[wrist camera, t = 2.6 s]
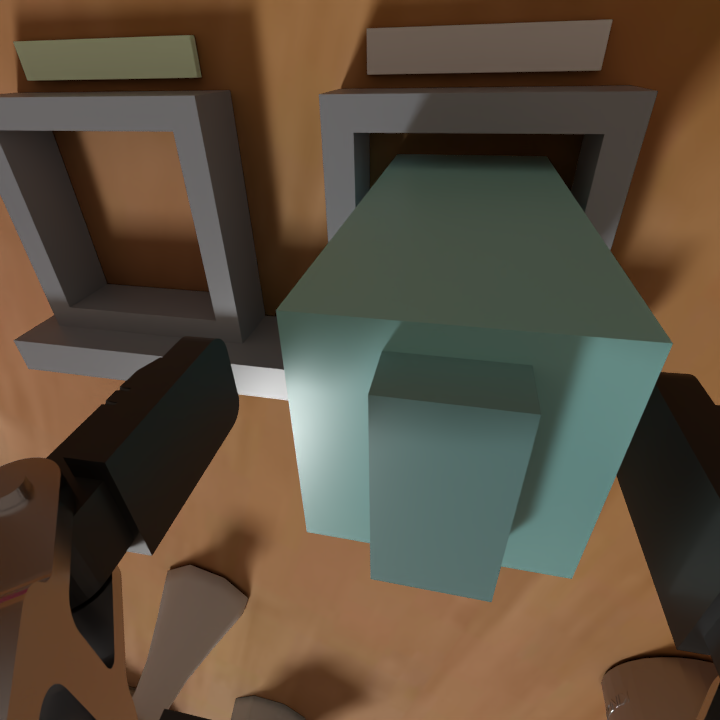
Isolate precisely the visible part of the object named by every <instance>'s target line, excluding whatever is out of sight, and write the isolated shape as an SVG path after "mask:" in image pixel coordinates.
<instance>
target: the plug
mask: <svg viewBox="0 0 720 720" xmlns="http://www.w3.org/2000/svg"><path fill="white" fill-rule="evenodd" d="M276 315H277V322H278V329H279V337H280V344H281V351H282V358H283V365H284V372H285V379H286V386H287V393H288V401H289V408H290V415H291V422H292V429H293V436H294V443H295V450H296V457H297V464H298V472H299V479H300V486H301V493H302V500H303V507H304V514H305V521H306V528H307V532H310V533H316V534H322V535H327V536H333V537H338V538H344V539H350V540H355V541H361V542H367V543H370V567H371V579H374V580H379V581H384V582H389V583H394V584H400V585H405V586H410V587H415V588H421V589H426V590H431V591H436V592H441V593H447V594H452V595H457V596H462V597H467V598H473V599H478V600H483V601H488V602H492V598H493V594H494V591H495V587H496V583H497V579H498V576H499V572H500V568H501V566H502V567H508V568H514V569H519V570H525V571H531V572H536V573H542V574H547V575H553V576H559V577H564V578H570V579H572V577H573V575H574V572H575V570H576V568H577V565H578V563H579V561H580V558H581V556H582V554H583V551H584V549H585V547H586V545H587V542H588V540H589V538H590V535H591V533H592V531H593V528H594V526H595V524H596V521H597V519H598V517H599V514H600V512H601V510H602V507H603V505H604V503H605V500H606V498H607V496H608V493H609V491H610V489H611V486H612V484H613V482H614V479H615V477H616V475H617V472H618V470H619V468H620V465H621V463H622V461H623V458H624V456H625V454H626V451H627V449H628V447H629V444H630V442H631V440H632V437H633V435H634V433H635V430H636V428H637V426H638V423H639V421H640V419H641V416H642V414H643V412H644V409H645V407H646V405H647V402H648V400H649V398H650V395H651V393H652V391H653V388H654V386H655V384H656V381H657V379H658V377H659V374H660V372H661V370H662V367H663V365H664V363H665V360H666V358H667V356H668V353H669V351H670V349H671V347H672V344H673V343H672V342H671V340H670V339H669V337H668V336H667V334H666V333H665V331H664V330H663V328H662V327H661V325H660V324H659V322H658V321H657V319H656V318H655V316H654V315H653V313H652V312H651V310H650V309H649V308H648V306H647V305H646V303H645V302H644V300H643V299H642V297H641V296H640V294H639V293H638V291H637V290H636V288H635V287H634V285H633V284H632V282H631V281H630V279H629V278H628V276H627V275H626V273H625V272H624V270H623V269H622V267H621V266H620V264H619V263H618V261H617V260H616V259H615V257H614V256H613V254H612V253H611V251H610V250H609V248H608V247H607V245H606V244H605V242H604V241H603V239H602V238H601V236H600V235H599V233H598V232H597V230H596V229H595V227H594V226H593V224H592V223H591V221H590V220H589V218H588V217H587V215H586V214H585V213H584V211H583V210H582V208H581V207H580V205H579V204H578V202H577V201H576V199H575V198H574V196H573V195H572V193H571V192H570V190H569V189H568V187H567V186H566V184H565V183H564V181H563V180H562V178H561V177H560V175H559V174H558V172H557V171H556V169H555V168H554V166H553V165H552V164H551V162H550V161H549V159H548V158H547V156H503V155H436V154H397V155H396V157H395V158H394V159H393V160H392V162H391V163H390V164H389V166H388V167H387V168H386V169H385V171H384V172H383V173H382V175H381V176H380V177H379V178H378V180H377V181H376V182H375V184H374V185H373V186H372V187H371V189H370V190H369V191H368V193H367V194H366V195H365V196H364V198H363V199H362V200H361V202H360V203H359V204H358V205H357V207H356V208H355V209H354V211H353V212H352V213H351V214H350V216H349V217H348V218H347V220H346V221H345V222H344V223H343V225H342V226H341V227H340V229H339V230H338V231H337V232H336V234H335V235H334V236H333V238H332V239H331V240H330V241H329V243H328V244H327V245H326V247H325V248H324V249H323V250H322V252H321V253H320V254H319V256H318V257H317V258H316V259H315V261H314V262H313V263H312V265H311V266H310V267H309V268H308V270H307V271H306V272H305V274H304V275H303V276H302V277H301V279H300V280H299V281H298V282H297V284H296V285H295V286H294V288H293V289H292V290H291V291H290V293H289V294H288V295H287V297H286V298H285V299H284V300H283V302H282V303H281V304H280V306H279V307H278V308H277V309H276Z"/></svg>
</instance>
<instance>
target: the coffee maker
mask: <svg viewBox="0 0 720 720" xmlns="http://www.w3.org/2000/svg"><path fill="white" fill-rule="evenodd" d="M231 720H305V718H304V717H302V716H301V715H299V714H298V713H296V712H295V711H293V710H292V709H290V708H289V707H287V706H286V705H284V704H282V703H278V702H274V701H271V700H267V699H264V698H260V697H257V696H249V697H242V698H236V700H235V704H234V708H233V713H232V717H231Z"/></svg>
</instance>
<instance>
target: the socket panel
mask: <svg viewBox="0 0 720 720" xmlns="http://www.w3.org/2000/svg"><path fill="white" fill-rule="evenodd" d="M612 20H613V19H610V20H583V21H556V22H529V23H502V24H475V25H448V26H421V27H394V28H367V75H374V74H430V73H486V72H543V71H599V70H601V68H602V64H603V59H604V55H605V51H606V46H607V42H608V38H609V33H610V29H611V25H612ZM13 43H14V45H15V48H16V51H17V54H18V56H19V59H20V62H21V64H22V67H23V70H24V73H25V75H26V78H27V81H37V80H93V79H149V78H199V77H202V76H201V71H200V65H199V60H198V54H197V49H196V43H195V38H194V35H178V36H151V37H124V38H97V39H70V40H42V41H15V42H13ZM657 92H658V91H655V90H651V89H646V88H641V87H636V86H632V85H617V86H534V87H451V88H367V89H337V90H334V91H330V92H326V93H322V94H319V102H320V118H321V134H322V150H323V166H324V183H325V199H326V215H327V231H328V243H329V241H330V240H331V239H332V238H333V236H334V235H335V234H336V232H337V231H338V230H339V229H340V227H341V226H342V225H343V223H344V222H345V221H346V220H347V218H348V217H349V216H350V214H351V213H352V212H353V211H354V209H355V208H356V207H357V205H358V204H359V203H360V202H361V200H362V199H363V198H364V196H365V195H366V194H367V193H368V191H369V190H370V136H369V133H495V134H584V136H583V140H582V145H581V149H580V153H579V158H578V162H577V166H576V171H575V175H574V179H573V184H572V188H571V193H572V195H573V196H574V198H575V199H576V201H577V202H578V204H579V205H580V207H581V208H582V210H583V211H584V213H585V214H586V215H587V217H588V218H589V220H590V221H591V223H592V224H593V226H594V227H595V229H596V230H597V232H598V233H599V235H600V236H601V238H602V239H603V241H604V242H605V244H606V245H607V247H608V248H609V250H611V247H612V243H613V240H614V237H615V233H616V230H617V227H618V223H619V220H620V217H621V213H622V210H623V206H624V203H625V200H626V196H627V193H628V190H629V186H630V183H631V180H632V176H633V173H634V170H635V166H636V163H637V159H638V156H639V153H640V149H641V146H642V143H643V139H644V136H645V133H646V129H647V126H648V123H649V119H650V116H651V113H652V109H653V106H654V102H655V99H656V96H657ZM52 131H173V133H174V137H175V141H176V146H177V150H178V155H179V159H180V164H181V168H182V172H183V177H184V181H185V186H186V190H187V194H188V199H189V203H190V208H191V212H192V216H193V221H194V225H195V230H196V234H197V239H198V243H199V247H200V252H201V256H202V261H203V265H204V269H205V274H206V278H207V283H208V287H209V292H204V291H191V290H178V289H165V288H152V287H140V286H127V285H114V284H107V282H106V279H105V276H104V273H103V271H102V268H101V265H100V262H99V260H98V257H97V254H96V251H95V248H94V246H93V243H92V240H91V237H90V235H89V232H88V229H87V226H86V224H85V221H84V218H83V215H82V212H81V210H80V207H79V204H78V201H77V199H76V196H75V193H74V190H73V188H72V185H71V182H70V179H69V176H68V174H67V171H66V168H65V165H64V163H63V160H62V157H61V154H60V151H59V149H58V146H57V143H56V140H55V138H54V135H53V132H52ZM0 195H1V197H2V199H3V202H4V204H5V206H6V208H7V210H8V213H9V215H10V217H11V219H12V222H13V224H14V226H15V228H16V230H17V233H18V235H19V237H20V239H21V242H22V244H23V246H24V248H25V250H26V253H27V255H28V257H29V259H30V262H31V264H32V266H33V268H34V270H35V273H36V275H37V277H38V279H39V282H40V284H41V286H42V288H43V290H44V293H45V295H46V297H47V299H48V302H49V304H50V306H51V308H52V310H53V313H54V316H52V317H50V318H49V319H47V320H46V321H44V322H42V323H41V324H39V325H38V326H36V327H34V328H33V329H31V330H30V331H28V332H26V333H25V334H23V335H21V336H20V337H18V338H17V339H15V340H14V342H15V344H16V346H17V348H18V350H19V351H20V353H21V355H22V357H23V359H24V361H25V363H26V365H27V367H28V369H35V370H43V371H52V372H60V373H68V374H76V375H84V376H93V377H101V378H109V379H117V380H126V381H127V380H128V379H129V378H130V377H131V376H132V375H133V374H134V373H135V372H136V371H137V370H139V369H140V368H142V367H144V366H146V365H147V364H149V363H151V362H153V361H154V360H156V359H158V358H160V357H163V356H164V355H165V354H166V353H167V352H168V351H169V350H170V349H171V348H172V347H173V346H174V345H175V344H176V343H177V342H178V341H179V340H180V339H181V338H183V337H185V336H192V337H205V338H218V339H221V340H222V341H224V343H225V345H226V347H227V351H228V355H229V359H230V363H231V367H232V371H233V375H234V379H235V384H236V388H237V392H238V394H241V395H249V396H257V397H265V398H274V399H282V400H288V393H287V386H286V379H285V372H284V365H283V358H282V351H281V344H280V337H279V329H278V322H277V317H276V316H265V311H264V304H263V298H262V291H261V285H260V279H259V272H258V266H257V259H256V253H255V247H254V240H253V234H252V227H251V221H250V215H249V208H248V202H247V195H246V189H245V183H244V176H243V170H242V163H241V157H240V151H239V144H238V138H237V131H236V125H235V119H234V112H233V106H232V99H231V93H230V90H201V91H118V92H35V93H7V94H0Z"/></svg>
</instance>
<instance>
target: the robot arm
mask: <svg viewBox="0 0 720 720" xmlns="http://www.w3.org/2000/svg"><path fill="white" fill-rule="evenodd" d="M238 410H239V396H238V392H237V388H236V384H235V379H234V375H233V371H232V367H231V363H230V359H229V355H228V351H227V347H226V345H225V343H224V341H222V340H221V339H218V338H205V337H192V336H185V337H183V338H181V339H180V340H179V341H178V342H177V343H176V344H175V345H174V346H173V347H172V348H171V349H170V350H169V351H168V352H167V353H166V354H165V355H164V356H163V357H160V358H158V359H156V360H154V361H153V362H151V363H149V364H147V365H146V366H144V367H142V368H140V369H139V370H137V371H136V372H135V373H134V374H133V375H132V376H131V377H130V378H129V379H128V380H127V381H125V382H124V383H123V384H122V385H121V386H120V390H119V391H118V390H116V391H115V392H114V393H113V394H112V395H111V396H110V397H109V398H108V399H107V400H106V404H105V405H104V404H102V405H101V406H100V407H99V408H98V409H97V410H96V411H94V412H93V413H92V414H91V415H90V416H89V417H88V418H87V419H86V420H85V421H84V422H83V423H82V424H81V425H80V426H79V427H78V428H77V429H76V430H75V431H74V432H73V433H72V434H71V435H70V436H69V437H68V438H67V439H66V440H65V441H63V442H62V443H61V444H60V445H59V446H58V447H57V448H56V449H55V450H54V451H53V452H52V453H51V454H50V455H49V456H48V457H47V458H27V459H21V460H17V461H14V462H11V463H8V464H5V465H3V466H1V467H0V720H138V717H137V713H136V709H135V705H134V702H133V699H132V696H131V694H130V691H129V687H128V682H127V676H126V662H125V641H124V620H123V599H122V578H121V571H120V569H119V567H118V563H119V562H120V560H121V559H122V557H123V556H124V554H125V553H126V551H128V552H134V553H140V554H145V555H151V556H152V555H153V553H154V552H155V550H156V548H157V547H158V545H159V544H160V542H161V540H162V539H163V537H164V536H165V534H166V532H167V531H168V529H169V528H170V526H171V524H172V523H173V521H174V520H175V518H176V516H177V515H178V513H179V512H180V510H181V509H182V507H183V505H184V504H185V502H186V501H187V499H188V497H189V496H190V494H191V493H192V491H193V489H194V488H195V486H196V485H197V483H198V481H199V480H200V478H201V477H202V475H203V473H204V472H205V470H206V469H207V467H208V465H209V464H210V462H211V461H212V459H213V457H214V456H215V454H216V453H217V451H218V449H219V448H220V446H221V445H222V443H223V441H224V440H225V438H226V437H227V435H228V433H229V432H230V430H231V429H232V427H233V425H234V423H235V421H236V419H237V415H238ZM617 478H618V481H619V484H620V487H621V490H622V493H623V496H624V498H625V501H626V504H627V507H628V510H629V513H630V516H631V519H632V521H633V524H634V527H635V530H636V533H637V536H638V539H639V542H640V545H641V547H642V550H643V553H644V556H645V559H646V562H647V565H648V568H649V570H650V573H651V576H652V579H653V582H654V585H655V588H656V591H657V593H658V596H659V599H660V602H661V605H662V608H663V611H664V614H665V617H666V619H667V622H668V625H669V628H670V631H671V634H672V637H673V640H674V642H675V645H676V648H677V650H683V651H688V652H694V653H700V654H705V655H711V657H712V660H713V662H714V663H711V662H706V661H701V660H696V659H687V658H677V657H657V658H645V659H639V660H634V661H629V662H626V663H624V664H621V665H618V666H616V667H614V668H613V669H611V670H609V671H608V672H607V673H606V674H605V675H604V677H603V679H602V682H601V684H602V690H603V695H604V700H605V706H606V715H607V720H720V405H715V404H714V402H713V401H712V400H711V398H710V397H709V395H708V394H707V392H706V391H705V389H704V388H703V387H702V385H701V384H700V382H699V381H698V379H697V378H696V377H695V376H693V375H691V374H680V373H666V372H660V374H659V377H658V379H657V381H656V384H655V386H654V388H653V391H652V393H651V395H650V398H649V400H648V402H647V405H646V407H645V409H644V412H643V414H642V416H641V419H640V421H639V423H638V426H637V428H636V430H635V433H634V435H633V437H632V440H631V442H630V444H629V447H628V449H627V451H626V454H625V456H624V458H623V461H622V463H621V465H620V468H619V470H618V472H617ZM159 720H210V719H206V718H201V717H197V716H193V715H189V714H185V713H181V712H177V711H172V710H168V709H164V710H163V713H162V715H161V717H160V719H159Z"/></svg>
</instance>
